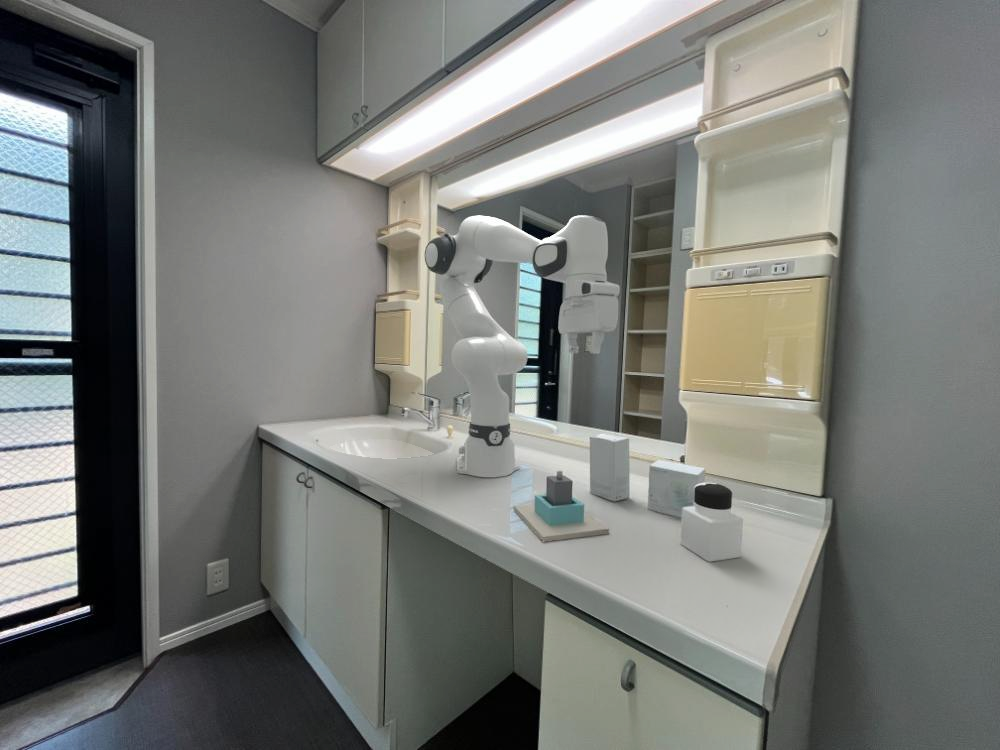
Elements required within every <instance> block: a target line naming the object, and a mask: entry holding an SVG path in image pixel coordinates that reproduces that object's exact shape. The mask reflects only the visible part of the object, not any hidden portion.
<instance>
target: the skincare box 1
mask: <svg viewBox="0 0 1000 750" xmlns="http://www.w3.org/2000/svg"><path fill="white" fill-rule="evenodd" d="M630 485H631V483H630V437H624V436H618V435H613V434H608V433H600V434H595V435H590V436H589V493H590V494H593V495H595V496H598V497H600V498H603V499H606V500H609V501H611V502H614V503H615V502H618V501H622V500H627V499H630V489H631V488H630Z"/></svg>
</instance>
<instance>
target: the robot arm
mask: <svg viewBox="0 0 1000 750" xmlns="http://www.w3.org/2000/svg"><path fill="white" fill-rule="evenodd" d="M608 237H609V236H608V228H607V225H606V222H605V221H604V220H602V219H600V218H598V217H595V216H592V215H581V214H579V215H575V216H573V217H571V218H570V219H569V220H568V222H567V224H566V225H565V226H564V227H563V228H562V229H561V230H559V231H557V232H556V233H555V234H553V235H551V236H550V237H549V236H548V237H544V238H543V239H542V240H541V239H538V238H536V237H535V236H533V235H531V234H528V233H527V232H525V231H524V230H522V229H519V228H518V227H516V226H514V225H513V224H511V223H509V222H507V221H504V220H502V219H499V218H497V217H492V216H485V215H472V216H468V217H466V218H465V219H464V220H463V221H462V222H461V223H460V226H459V229H458V232H457V233H456V234H455V235H451V233H449V232H448V233H444V235H442V236H438V237H435V238H432V239H431V240H430V241H429V242H428V243H427V244H426V247H425V250H424V262H425V265H426V266H427V269H428V270H429V271H430V272H432V273H435V274H436V275H446V276H447V277H445V278H444V279H443V281H442V282H441V284H440V286H439V287H440V288H439V293H440V297H441V301H442V303H443V306H444V309H445V310H446V313H447V315H448V317H449V319H450V321H451V322H452V325H453V327H454V329H455V330H456V332H457V334H458V335H459V336H460V337H461V338H462V339H460V340H458V341H457V342H456V343H454V346H453V348H452V350H451V362H452V365H453V367H454V369H455V370H456V371H457V372H458V373H459V374H460V375H461V376H462V378H463V379H464V381H465V383H466V385H467V388H468V391H469V395H470V415H471V416H470V422H469V426H468V437H467V438H466V440H465V441H464V443H463V445H462V446H461V445H459V446H458V454H459V455H461V456H457V457H456V473H458V474H462V475H470V476H473V477H480V478H501V477H505V476H509V475H511V474H513V473H514V472H515V471H517V470H520V465H519V464H517V463H516V454H515V453H516V452H515V442H514V441H513V439H511V438H510V436H511V431H512V429H511V423H510V397H509V394H508V393H507V392H506V391H504V390H503V389H502V387H501V386H500V383H499V377H498V376H508V375H512V374H515V373H518V372H520V371H522V370H523V369H524V368H525V366H526V365H527V362H528V357H529V356H528V355H529V354H528V349H527V348H526V346H525V345H524V344H523V343H522V342H520V341H518V340H517V339H515V338H514V337H512V336H511V335H510V334H509V333H508V331H506V330H505V329H503V327H502V326H500V324H499V323H498V322H497V321H496V320H495V319H494V318H493V316H491V314H490V312H489V310H488V308H486V306H485V304H484V303H483V300H482V299H481V297H480V295H479V293H477V290H476V288H475V286H474V284H478V283H481V282H482V281H483V278H484V277H486V276H487V275H488V273H489V272H490V270H491V268H492V266H493V261H494V262H503V263H517V264H530V265H532V267H533V270H534V272H535V273H536V275H538V277H541V278H542V279H546V280H550V281H554V282H558V283H559V282H560V283H563V284H565V299H564V301H563V302H562V303H561V305H560V307H559V308H560V309H559V315H558V326H557V328H558V332H559V334H563V335H566V341H567V343H568V352H569V354H579V349H580V346H579V345H578V342H577V339H578V334H589V333H590V334H591V337H592V338H593V339H592V341H591V342H592V343H591V344H589V354H597V355H598V354H600V353H601V345H602V344H603V342H604V340H605V332H614V331H615V330H616V327H618V326H617V325H618V322H619V321H618V319H619V299H618V296H619V294H620V288H621V287H620V285H619V284H616V283H613V282H610V281H608V274H607V271H606V264H607V260H608V255H609V252H608V251H609V241H608V239H609V238H608Z"/></svg>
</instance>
